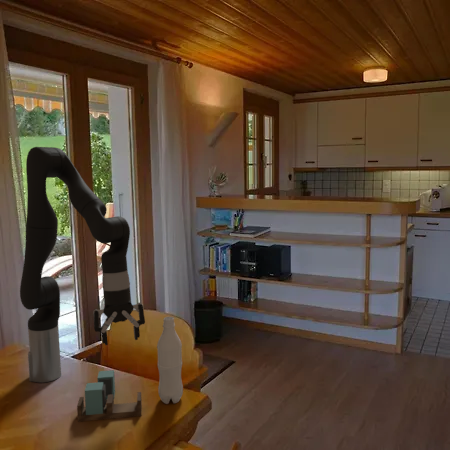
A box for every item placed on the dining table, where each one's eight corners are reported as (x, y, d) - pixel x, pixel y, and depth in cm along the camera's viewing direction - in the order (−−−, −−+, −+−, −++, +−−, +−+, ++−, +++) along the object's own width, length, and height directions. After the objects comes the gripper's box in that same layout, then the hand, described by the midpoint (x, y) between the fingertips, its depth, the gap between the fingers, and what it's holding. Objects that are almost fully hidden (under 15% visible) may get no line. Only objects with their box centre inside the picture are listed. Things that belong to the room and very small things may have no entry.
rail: (77, 421, 129) (77, 405, 128) (80, 412, 134) (79, 397, 133) (141, 415, 131) (140, 400, 131) (141, 406, 136) (141, 391, 136)
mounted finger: (85, 415, 129) (84, 390, 128) (88, 406, 133) (86, 383, 133) (105, 413, 130) (103, 389, 129) (106, 405, 134) (105, 381, 133)
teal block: (100, 393, 145) (99, 371, 144) (115, 391, 145) (114, 370, 145) (98, 401, 140) (97, 378, 139) (113, 399, 140) (112, 377, 140)
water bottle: (179, 407, 136) (176, 322, 133) (155, 404, 137) (152, 321, 134) (186, 395, 143) (184, 315, 140) (163, 393, 144) (161, 313, 141)
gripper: (139, 281, 141) (143, 334, 143) (89, 287, 137) (95, 342, 138) (143, 285, 134) (148, 341, 136) (91, 292, 130) (96, 350, 131)
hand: (121, 341), depth 137 cm, fingers open, 8 cm apart
